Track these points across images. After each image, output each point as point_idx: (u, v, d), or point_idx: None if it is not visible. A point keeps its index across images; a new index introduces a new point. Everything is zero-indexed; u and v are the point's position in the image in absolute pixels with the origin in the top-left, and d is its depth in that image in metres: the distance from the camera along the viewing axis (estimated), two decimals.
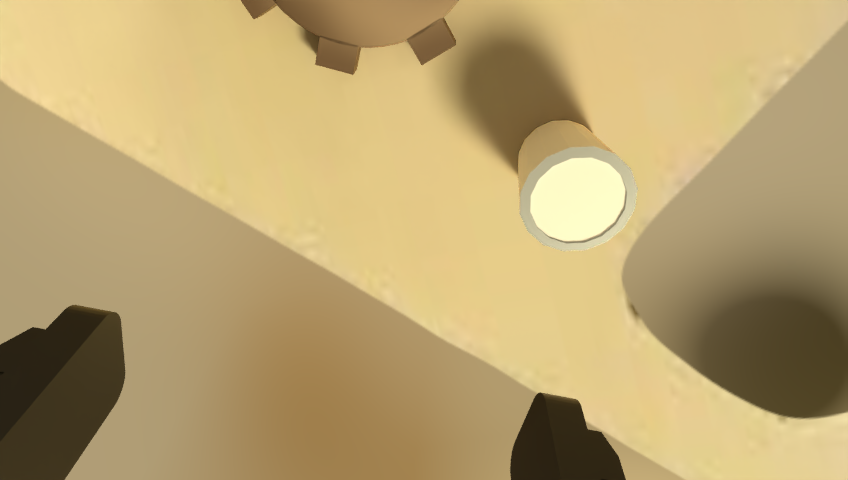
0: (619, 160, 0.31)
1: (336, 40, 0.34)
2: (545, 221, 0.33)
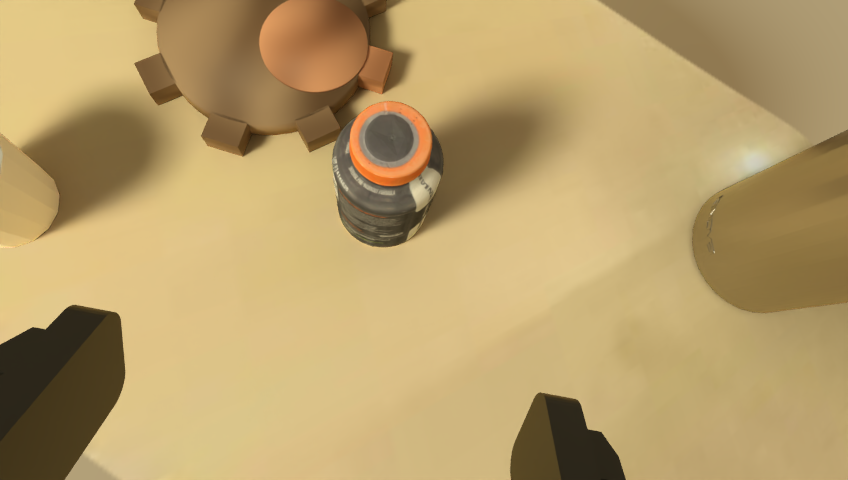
0: None
1: None
2: None
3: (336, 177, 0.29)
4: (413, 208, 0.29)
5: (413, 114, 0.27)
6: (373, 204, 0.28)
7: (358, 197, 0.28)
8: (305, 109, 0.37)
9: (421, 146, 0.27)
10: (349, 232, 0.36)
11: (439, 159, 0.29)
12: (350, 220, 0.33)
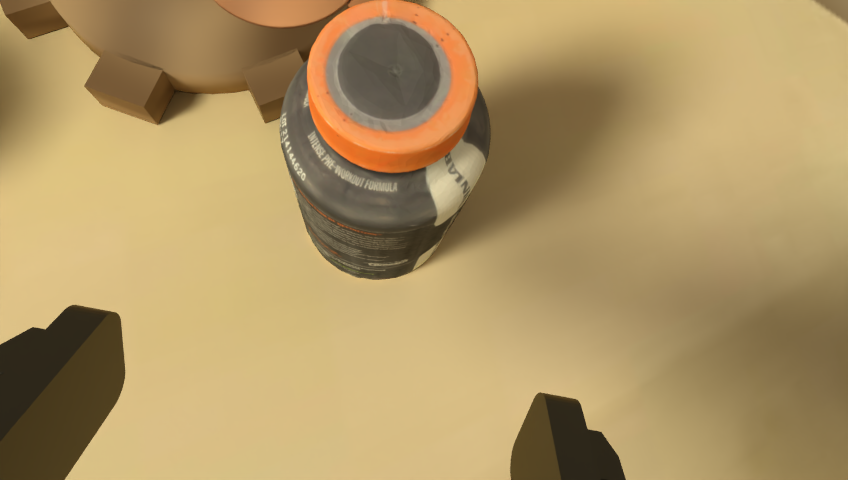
0: None
1: None
2: None
3: (285, 153, 0.15)
4: (431, 219, 0.15)
5: (441, 27, 0.13)
6: (353, 208, 0.14)
7: (324, 193, 0.14)
8: (259, 53, 0.23)
9: (454, 90, 0.13)
10: (321, 253, 0.22)
11: (484, 128, 0.15)
12: (318, 235, 0.19)
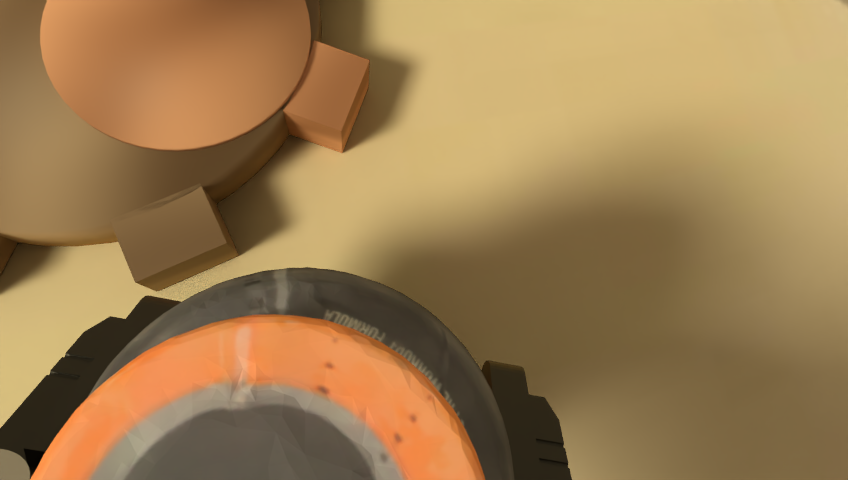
0: None
1: None
2: None
3: None
4: None
5: (396, 396, 0.05)
6: None
7: None
8: (140, 193, 0.15)
9: None
10: None
11: None
12: None
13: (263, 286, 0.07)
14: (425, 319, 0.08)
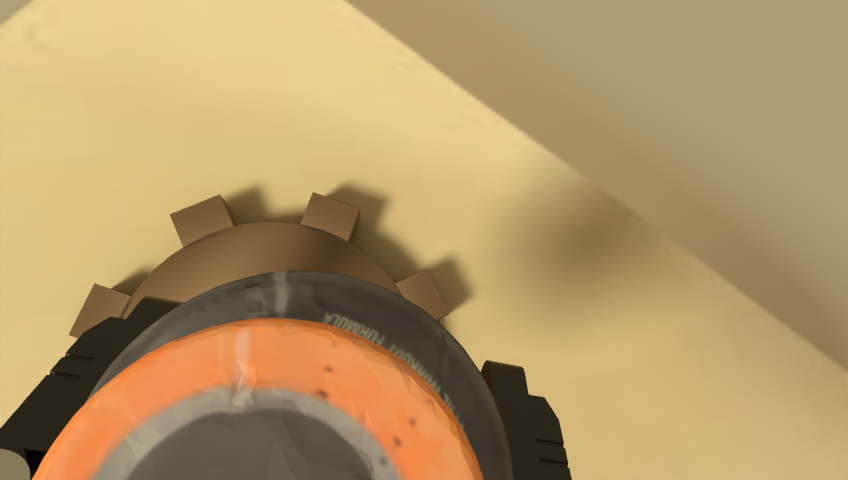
0: None
1: None
2: None
3: None
4: None
5: (396, 400, 0.05)
6: None
7: None
8: None
9: None
10: None
11: None
12: None
13: (263, 289, 0.07)
14: (425, 322, 0.08)
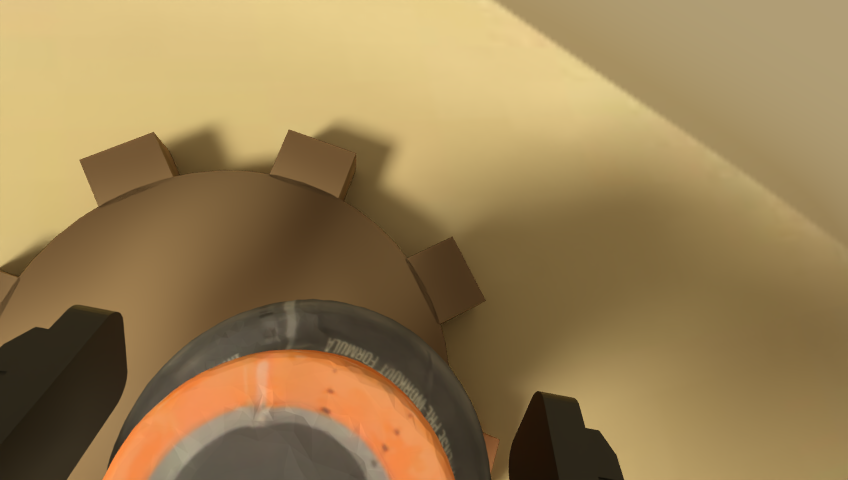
0: None
1: (1, 310, 0.17)
2: None
3: None
4: None
5: (383, 415, 0.06)
6: None
7: None
8: None
9: None
10: None
11: None
12: None
13: (275, 317, 0.09)
14: (413, 343, 0.09)
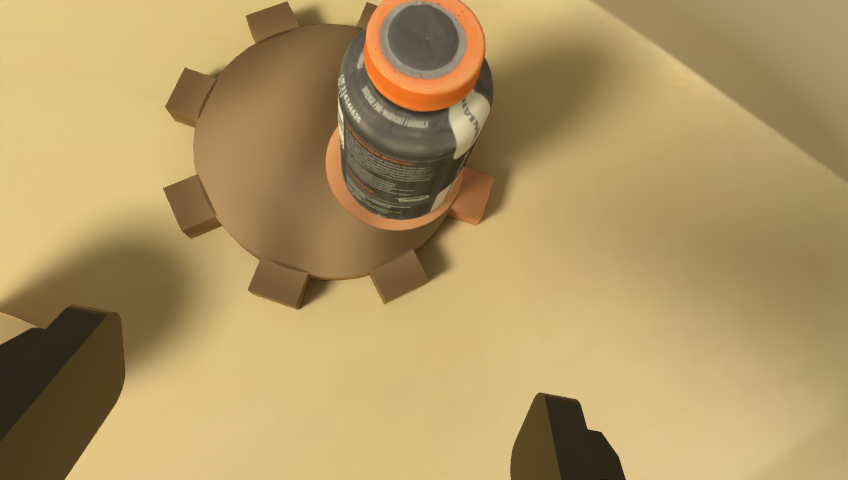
0: None
1: (209, 95, 0.29)
2: None
3: (343, 104, 0.20)
4: (452, 150, 0.20)
5: (458, 7, 0.19)
6: (397, 141, 0.20)
7: (375, 131, 0.20)
8: (383, 253, 0.28)
9: (469, 50, 0.18)
10: (355, 199, 0.28)
11: (488, 83, 0.21)
12: (359, 177, 0.24)
13: None
14: None
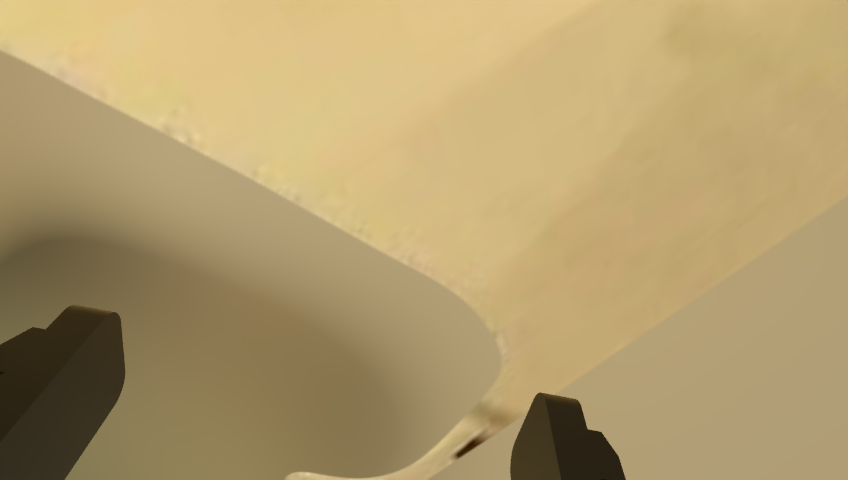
0: None
1: None
2: None
3: None
4: None
5: None
6: None
7: None
8: None
9: None
10: None
11: None
12: None
13: None
14: None
